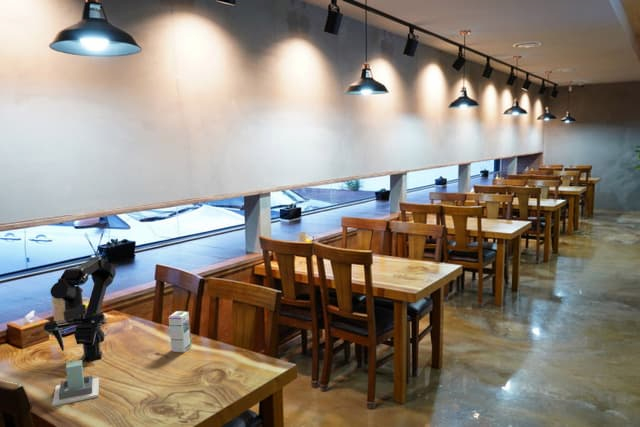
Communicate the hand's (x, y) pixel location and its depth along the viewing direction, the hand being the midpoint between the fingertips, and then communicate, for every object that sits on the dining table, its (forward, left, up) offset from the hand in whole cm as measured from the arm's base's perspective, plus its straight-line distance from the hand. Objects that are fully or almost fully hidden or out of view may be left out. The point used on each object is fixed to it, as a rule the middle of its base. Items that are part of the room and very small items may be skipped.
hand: (77, 347), depth 169 cm
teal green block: (+9, -1, -11) cm, 14 cm away
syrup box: (-11, +35, -12) cm, 39 cm away
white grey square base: (+9, -1, -12) cm, 15 cm away
